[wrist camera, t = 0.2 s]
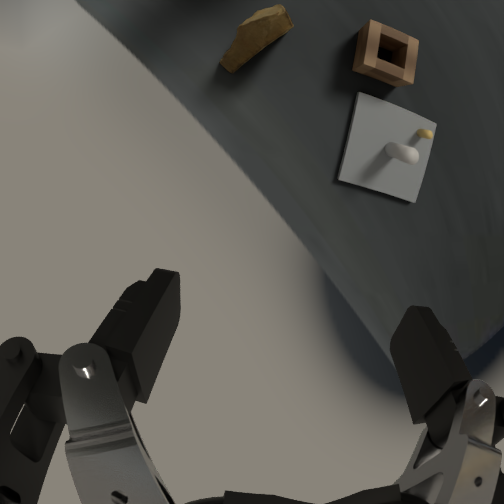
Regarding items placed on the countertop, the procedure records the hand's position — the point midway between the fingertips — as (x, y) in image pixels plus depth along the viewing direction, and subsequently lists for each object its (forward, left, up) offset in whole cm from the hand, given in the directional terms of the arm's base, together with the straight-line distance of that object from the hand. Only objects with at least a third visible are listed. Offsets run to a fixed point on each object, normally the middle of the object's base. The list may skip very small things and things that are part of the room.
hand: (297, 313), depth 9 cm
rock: (-16, -6, -29) cm, 34 cm away
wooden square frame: (-18, +10, -29) cm, 35 cm away
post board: (-6, +14, -29) cm, 32 cm away
